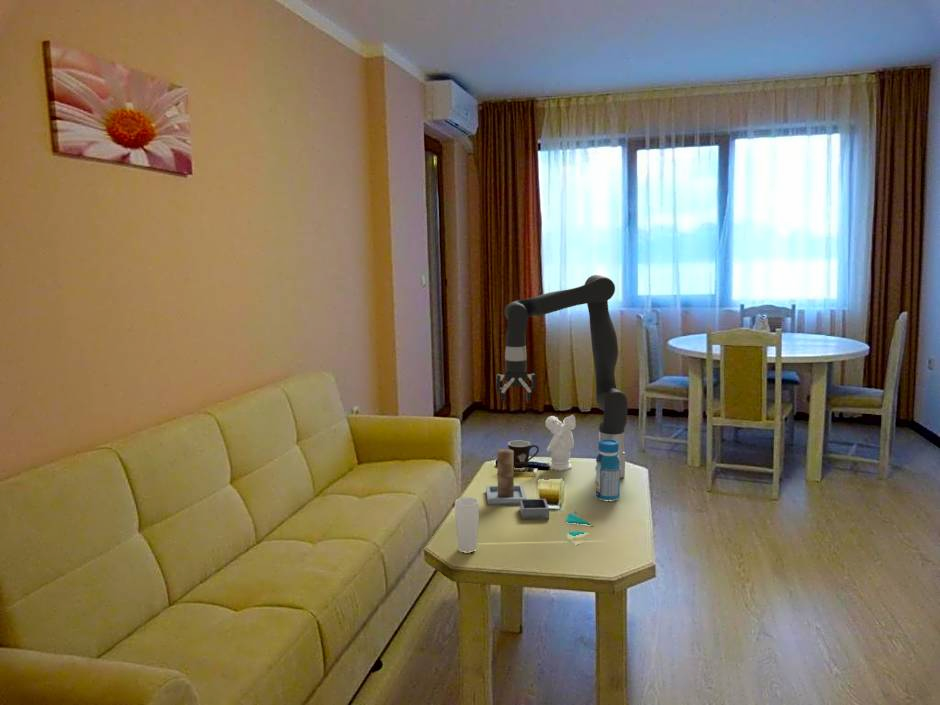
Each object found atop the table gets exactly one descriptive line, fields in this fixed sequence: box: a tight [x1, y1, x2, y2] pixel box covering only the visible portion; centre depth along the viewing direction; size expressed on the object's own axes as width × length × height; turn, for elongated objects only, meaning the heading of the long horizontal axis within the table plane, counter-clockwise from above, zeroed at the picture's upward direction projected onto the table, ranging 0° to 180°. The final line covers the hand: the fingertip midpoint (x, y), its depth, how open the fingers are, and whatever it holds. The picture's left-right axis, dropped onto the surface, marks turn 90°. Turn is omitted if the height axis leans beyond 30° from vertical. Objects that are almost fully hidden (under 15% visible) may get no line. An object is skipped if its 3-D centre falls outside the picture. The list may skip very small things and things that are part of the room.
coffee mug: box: [507, 439, 540, 468], centre depth 271 cm, size 12×9×10 cm
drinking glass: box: [454, 496, 480, 552], centre depth 201 cm, size 7×7×15 cm
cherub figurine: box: [544, 414, 577, 472], centre depth 272 cm, size 12×12×22 cm
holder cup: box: [518, 498, 550, 521], centre depth 226 cm, size 9×9×4 cm
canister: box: [496, 448, 515, 498], centre depth 239 cm, size 6×6×16 cm
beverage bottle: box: [595, 439, 621, 502], centre depth 239 cm, size 8×8×20 cm
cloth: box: [565, 510, 592, 536], centre depth 216 cm, size 26×14×2 cm, turn 160°
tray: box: [485, 484, 528, 506], centre depth 240 cm, size 13×13×2 cm
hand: (515, 402), depth 251 cm, fingers open, 8 cm apart
